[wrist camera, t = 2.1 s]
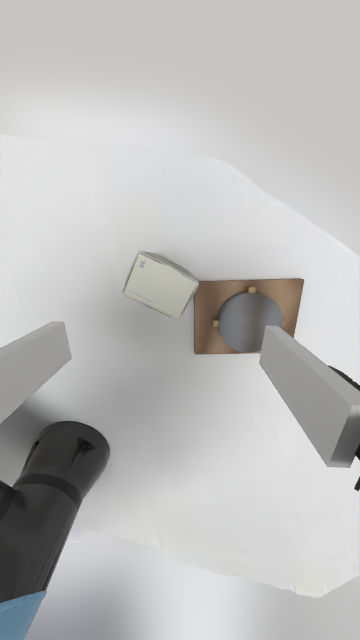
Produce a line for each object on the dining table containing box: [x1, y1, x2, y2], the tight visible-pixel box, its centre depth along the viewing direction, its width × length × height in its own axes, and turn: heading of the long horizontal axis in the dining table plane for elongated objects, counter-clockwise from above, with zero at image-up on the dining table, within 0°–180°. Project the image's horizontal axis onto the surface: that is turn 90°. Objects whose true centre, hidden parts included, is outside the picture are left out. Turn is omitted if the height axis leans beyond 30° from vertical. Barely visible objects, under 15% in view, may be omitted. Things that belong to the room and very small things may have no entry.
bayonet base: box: [194, 279, 304, 354], centre depth 29 cm, size 16×12×4 cm
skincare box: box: [122, 251, 199, 320], centre depth 23 cm, size 6×4×12 cm
